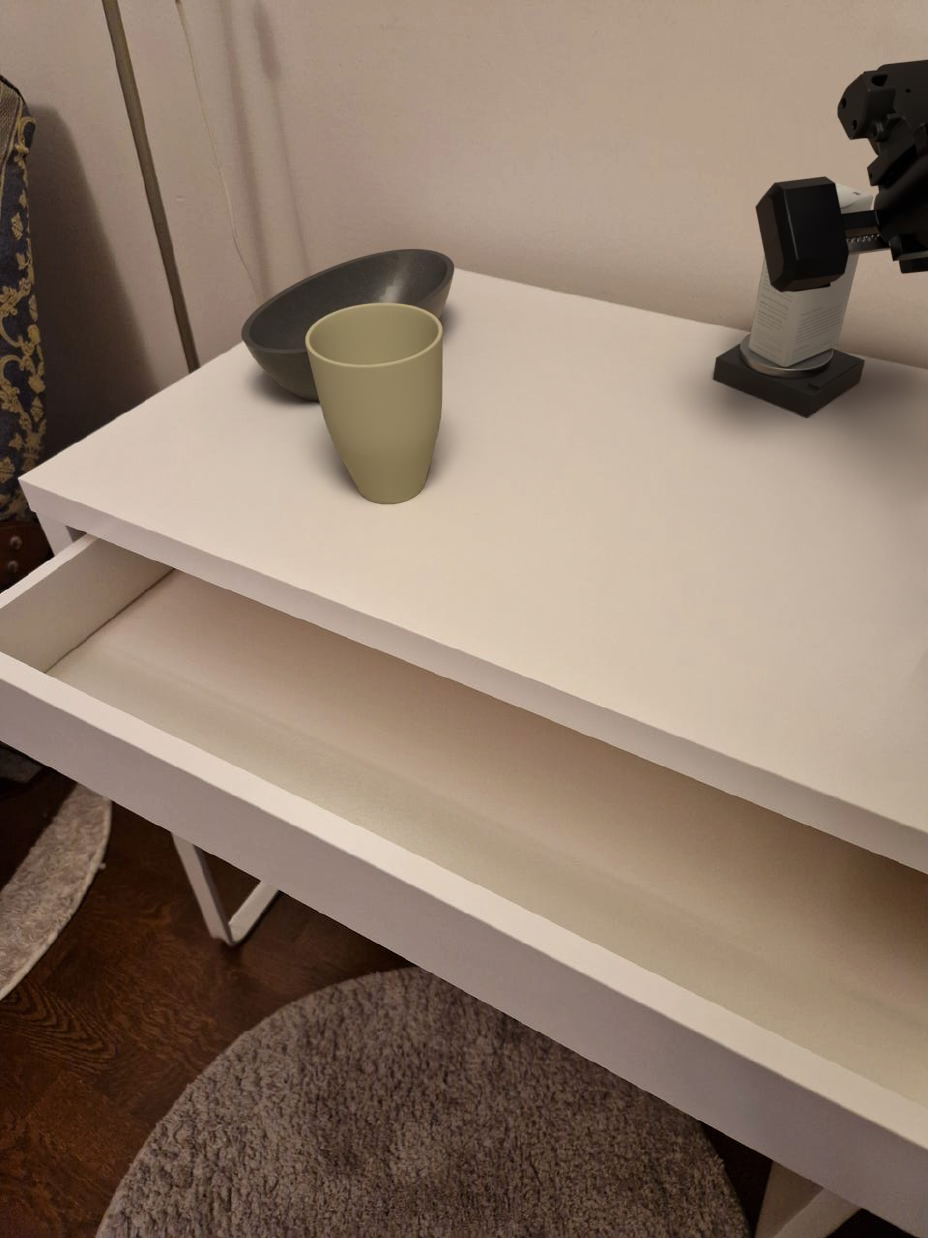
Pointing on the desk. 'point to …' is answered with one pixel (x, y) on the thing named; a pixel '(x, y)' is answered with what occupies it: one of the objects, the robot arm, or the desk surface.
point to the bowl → (340, 307)
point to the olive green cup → (380, 393)
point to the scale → (789, 377)
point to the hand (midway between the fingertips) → (842, 274)
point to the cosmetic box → (805, 306)
